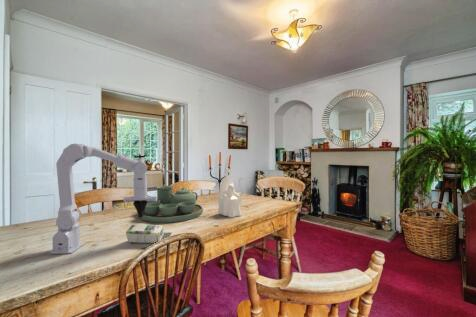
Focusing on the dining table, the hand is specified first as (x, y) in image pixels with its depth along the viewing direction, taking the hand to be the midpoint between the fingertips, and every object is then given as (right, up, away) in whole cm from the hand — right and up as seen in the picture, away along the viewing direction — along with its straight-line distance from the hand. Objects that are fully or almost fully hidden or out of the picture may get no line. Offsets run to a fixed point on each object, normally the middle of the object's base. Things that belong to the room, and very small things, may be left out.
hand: (140, 216), depth 107 cm
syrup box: (-4, -7, -3) cm, 8 cm away
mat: (+5, -10, +2) cm, 12 cm away
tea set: (+2, -10, +44) cm, 45 cm away
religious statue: (+42, -9, +44) cm, 61 cm away
